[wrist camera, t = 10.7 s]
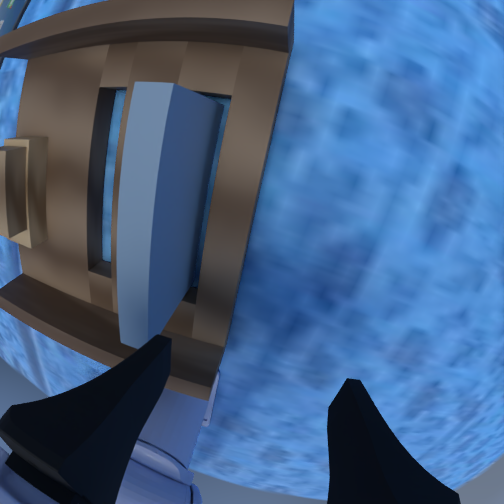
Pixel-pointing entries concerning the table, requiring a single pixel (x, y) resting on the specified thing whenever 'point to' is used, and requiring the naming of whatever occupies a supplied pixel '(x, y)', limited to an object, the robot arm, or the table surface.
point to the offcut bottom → (33, 189)
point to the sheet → (161, 203)
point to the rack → (94, 156)
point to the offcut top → (12, 190)
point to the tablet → (11, 16)
